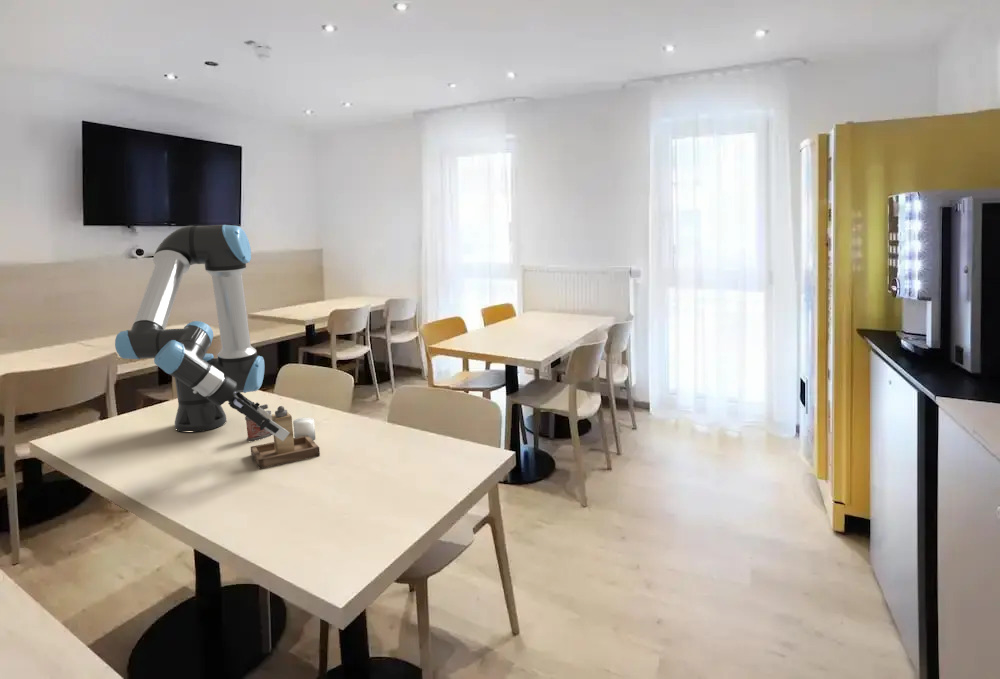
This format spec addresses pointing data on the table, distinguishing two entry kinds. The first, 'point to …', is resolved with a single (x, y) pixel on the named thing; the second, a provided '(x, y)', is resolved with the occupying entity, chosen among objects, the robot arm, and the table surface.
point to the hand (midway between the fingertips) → (280, 429)
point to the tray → (268, 457)
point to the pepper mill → (285, 422)
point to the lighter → (256, 428)
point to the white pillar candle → (304, 427)
